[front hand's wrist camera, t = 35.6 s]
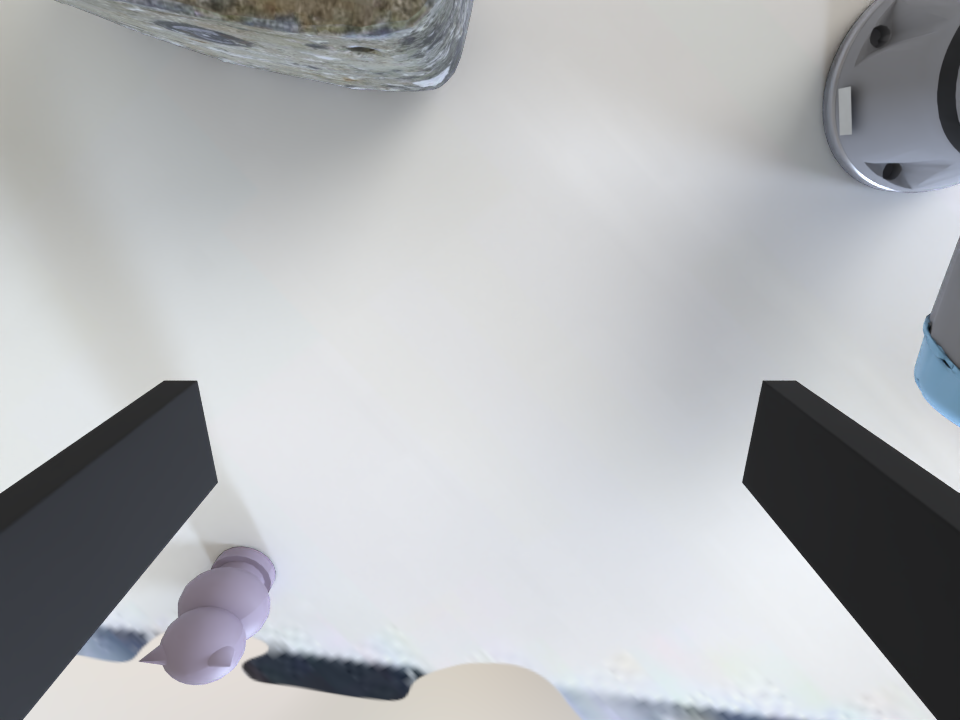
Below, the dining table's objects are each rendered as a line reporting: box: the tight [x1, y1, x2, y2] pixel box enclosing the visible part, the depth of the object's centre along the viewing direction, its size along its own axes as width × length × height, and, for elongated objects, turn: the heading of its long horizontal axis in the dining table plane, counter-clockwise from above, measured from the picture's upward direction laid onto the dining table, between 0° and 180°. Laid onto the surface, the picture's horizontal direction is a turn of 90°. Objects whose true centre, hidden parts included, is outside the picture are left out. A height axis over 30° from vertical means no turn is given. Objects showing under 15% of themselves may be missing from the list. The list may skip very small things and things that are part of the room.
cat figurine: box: [139, 547, 276, 685], centre depth 50 cm, size 9×8×12 cm
